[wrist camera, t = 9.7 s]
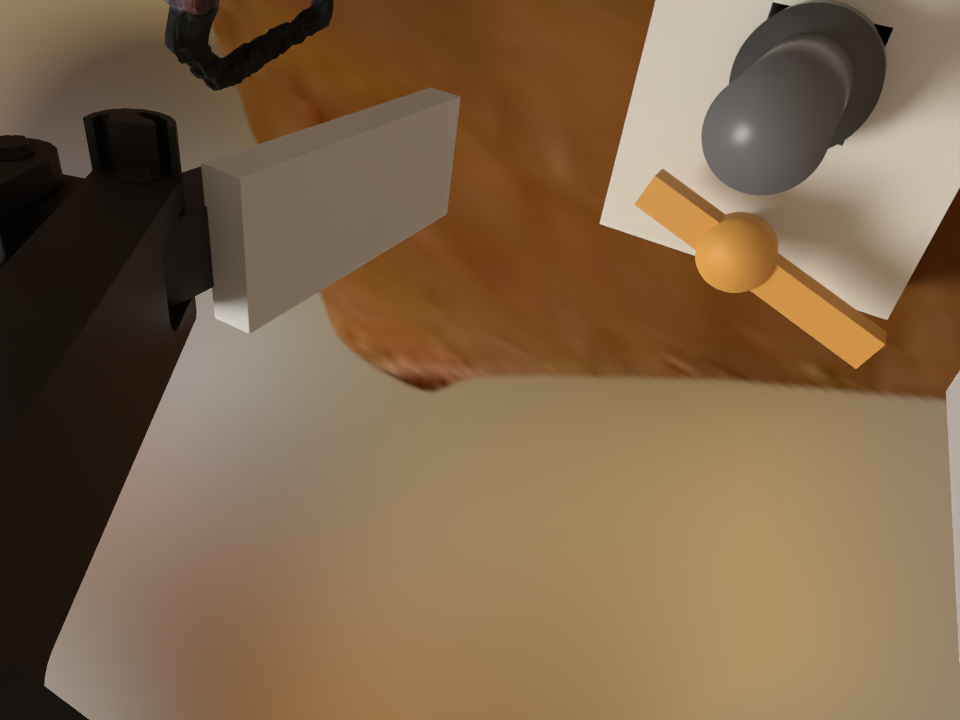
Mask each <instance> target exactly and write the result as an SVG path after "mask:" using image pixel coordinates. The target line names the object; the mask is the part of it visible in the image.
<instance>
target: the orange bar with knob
mask: <svg viewBox="0 0 960 720" xmlns="http://www.w3.org/2000/svg"><path fill="white" fill-rule="evenodd" d="M634 205H635V206H637V207H638V208H640V209H641V210H642V211H644V212H645V213H646V214H648V215H649V216H650V217H652V218H653V219H654V220H656V221H657V222H658V223H660V224H661V225H662V226H664V227H665V228H666V229H668V230H669V231H671V232H672V233H673V234H675V235H676V236H677V237H679V238H680V239H681V240H683V241H684V242H685V243H687V244H688V245H689V246H691V247H692V248H693V249H695V250H696V253H695V260H696V266H697V268H698V271H699V273H700V274H701V276H702V277H703V279H704V280H705V281H706V282H707V283H709V284H710V285H711V286H713V287H714V288H716V289H719V290H721V291H725V292H731V293H739V292H745V291H749V290H750V291H751V292H753V293H754V294H755V295H757V296H758V297H760V298H761V299H762V300H764V301H765V302H766V303H768V304H769V305H770V306H772V307H773V308H774V309H776V310H777V311H778V312H780V313H781V314H782V315H784V316H785V317H787V318H788V319H789V320H791V321H792V322H793V323H795V324H796V325H797V326H799V327H800V328H801V329H803V330H804V331H805V332H807V333H808V334H809V335H811V336H812V337H813V338H815V339H816V340H818V341H819V342H820V343H822V344H823V345H824V346H826V347H827V348H828V349H830V350H831V351H832V352H834V353H835V354H836V355H838V356H839V357H840V358H842V359H843V360H844V361H846V362H847V363H849V364H850V365H851V366H853V367H854V368H855V369H857V368H858V367H859V366H860V365H861V364H863V363H864V362H865V361H866V360H867V359H869V358H870V357H871V356H872V355H873V354H875V353H876V352H877V351H878V350H879V349H881V348H882V347H883V346H884V345H885V343H886V331H884V330H883V329H882V328H880V327H879V326H877V325H876V324H875V323H873V322H872V321H871V320H869V319H868V318H867V317H865V316H864V315H862V314H861V313H860V312H858V311H857V310H856V309H854V308H853V307H851V306H850V305H849V304H847V303H846V302H845V301H843V300H842V299H841V298H839V297H838V296H836V295H835V294H834V293H832V292H831V291H830V290H828V289H827V288H825V287H824V286H823V285H821V284H820V283H819V282H817V281H816V280H815V279H813V278H812V277H810V276H809V275H808V274H806V273H805V272H804V271H802V270H801V269H800V268H798V267H797V266H795V265H794V264H793V263H791V262H790V261H789V260H787V259H786V258H784V257H783V256H782V255H780V254H779V253H778V240H777V236H776V234H775V232H774V230H773V228H772V227H771V226H770V224H769V223H768V222H766V221H765V220H764V219H763V218H761V217H759V216H757V215H755V214H752V213H747V212H733V213H729V214H724V213H723V212H722V211H720V210H719V209H717V208H716V207H715V206H713V205H712V204H711V203H709V202H708V201H706V200H705V199H704V198H702V197H701V196H700V195H698V194H697V193H696V192H694V191H693V190H691V189H690V188H689V187H687V186H686V185H685V184H683V183H682V182H680V181H679V180H678V179H676V178H675V177H674V176H672V175H671V174H670V173H668V172H667V171H665V170H664V169H662V170H660V171H659V172H658V173H657V174H656V175H655V176H654V178H653V179H652V181H651V182H650V183H649V185H648V186H647V187H646V189H645V190H644V192H643V193H642V194H641V196H640V197H639V199H638V200H637V201H636V203H635V204H634Z"/></svg>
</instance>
